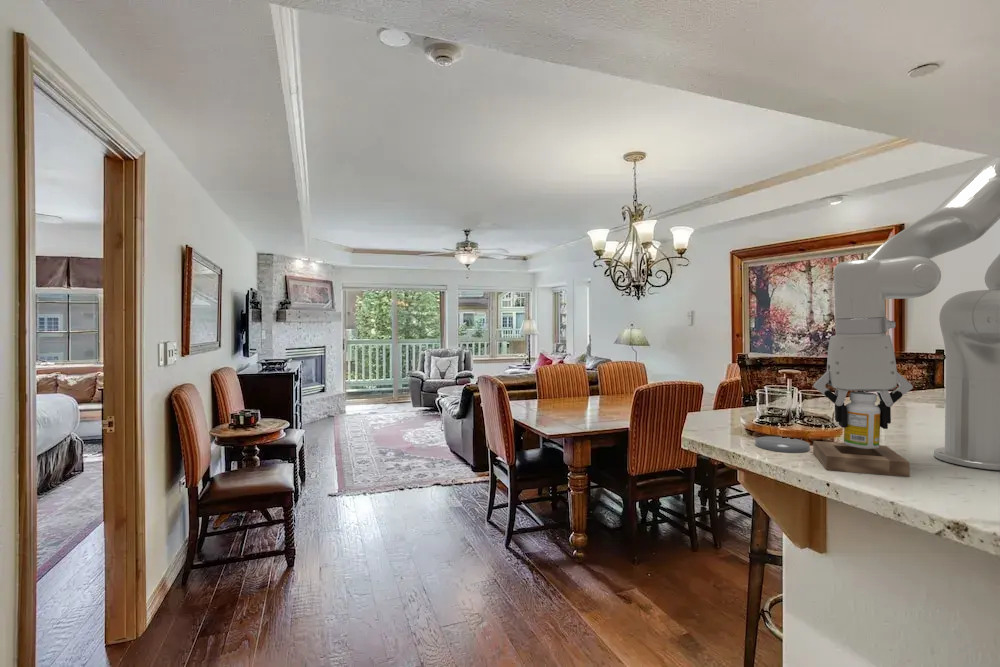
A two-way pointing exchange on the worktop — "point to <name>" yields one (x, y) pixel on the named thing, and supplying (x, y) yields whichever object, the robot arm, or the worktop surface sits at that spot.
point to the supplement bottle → (862, 421)
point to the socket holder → (860, 459)
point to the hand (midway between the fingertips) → (862, 425)
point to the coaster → (782, 444)
